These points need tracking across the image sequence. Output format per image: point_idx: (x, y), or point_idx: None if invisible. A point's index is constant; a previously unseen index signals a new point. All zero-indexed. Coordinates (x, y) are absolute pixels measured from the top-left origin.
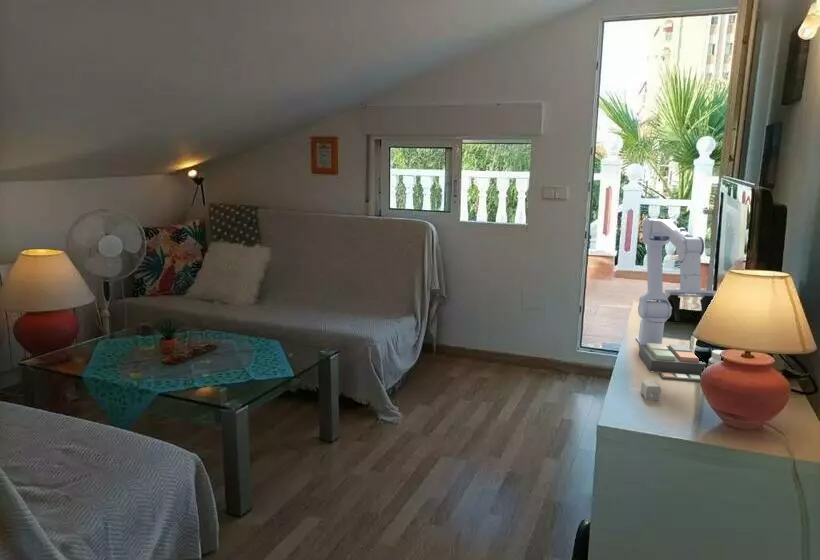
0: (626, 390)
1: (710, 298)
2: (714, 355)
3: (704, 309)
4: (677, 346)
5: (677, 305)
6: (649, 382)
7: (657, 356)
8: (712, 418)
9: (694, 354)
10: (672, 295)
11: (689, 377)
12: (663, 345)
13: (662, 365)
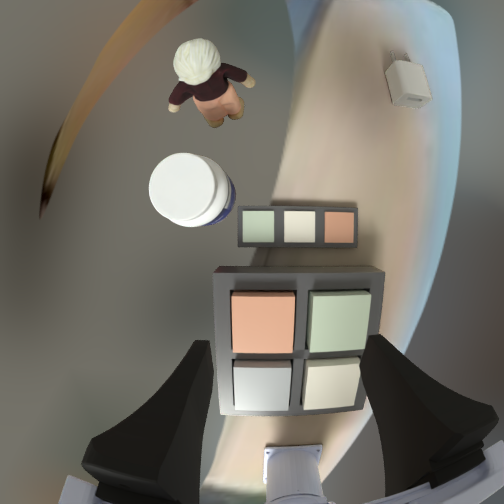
0: (441, 124)
1: (116, 459)
2: (212, 169)
3: (192, 409)
4: (268, 397)
5: (432, 394)
6: (420, 82)
7: (367, 294)
8: (292, 9)
9: (235, 332)
10: (472, 463)
11: (278, 221)
12: (311, 397)
13: (349, 269)
